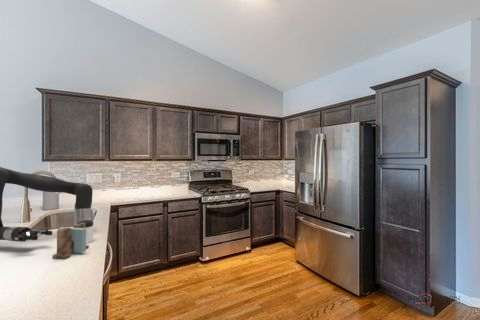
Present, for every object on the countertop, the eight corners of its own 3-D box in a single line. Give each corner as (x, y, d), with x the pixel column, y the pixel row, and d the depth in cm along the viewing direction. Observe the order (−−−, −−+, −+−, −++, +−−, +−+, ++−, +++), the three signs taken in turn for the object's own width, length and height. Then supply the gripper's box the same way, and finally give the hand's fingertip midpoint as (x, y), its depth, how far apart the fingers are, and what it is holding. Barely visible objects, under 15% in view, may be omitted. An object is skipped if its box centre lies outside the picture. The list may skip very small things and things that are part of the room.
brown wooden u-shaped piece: (77, 247, 136) (77, 222, 136) (88, 247, 135) (89, 222, 135) (52, 258, 120) (52, 230, 120) (65, 259, 119) (65, 231, 119)
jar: (96, 239, 149) (96, 220, 149) (88, 244, 141) (88, 223, 141) (82, 239, 149) (82, 219, 149) (72, 243, 141) (73, 223, 141)
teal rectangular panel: (57, 251, 127) (57, 228, 127) (61, 249, 129) (61, 227, 129) (82, 252, 125) (82, 229, 125) (85, 250, 128) (86, 228, 128)
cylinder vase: (54, 210, 230) (55, 184, 230) (39, 210, 227) (40, 184, 227) (61, 207, 242) (61, 182, 242) (46, 207, 239) (47, 182, 239)
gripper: (3, 230, 124) (32, 232, 122) (30, 223, 138) (56, 224, 136) (3, 245, 124) (31, 247, 122) (29, 236, 138) (56, 238, 136)
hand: (44, 235), depth 129 cm, fingers open, 8 cm apart
